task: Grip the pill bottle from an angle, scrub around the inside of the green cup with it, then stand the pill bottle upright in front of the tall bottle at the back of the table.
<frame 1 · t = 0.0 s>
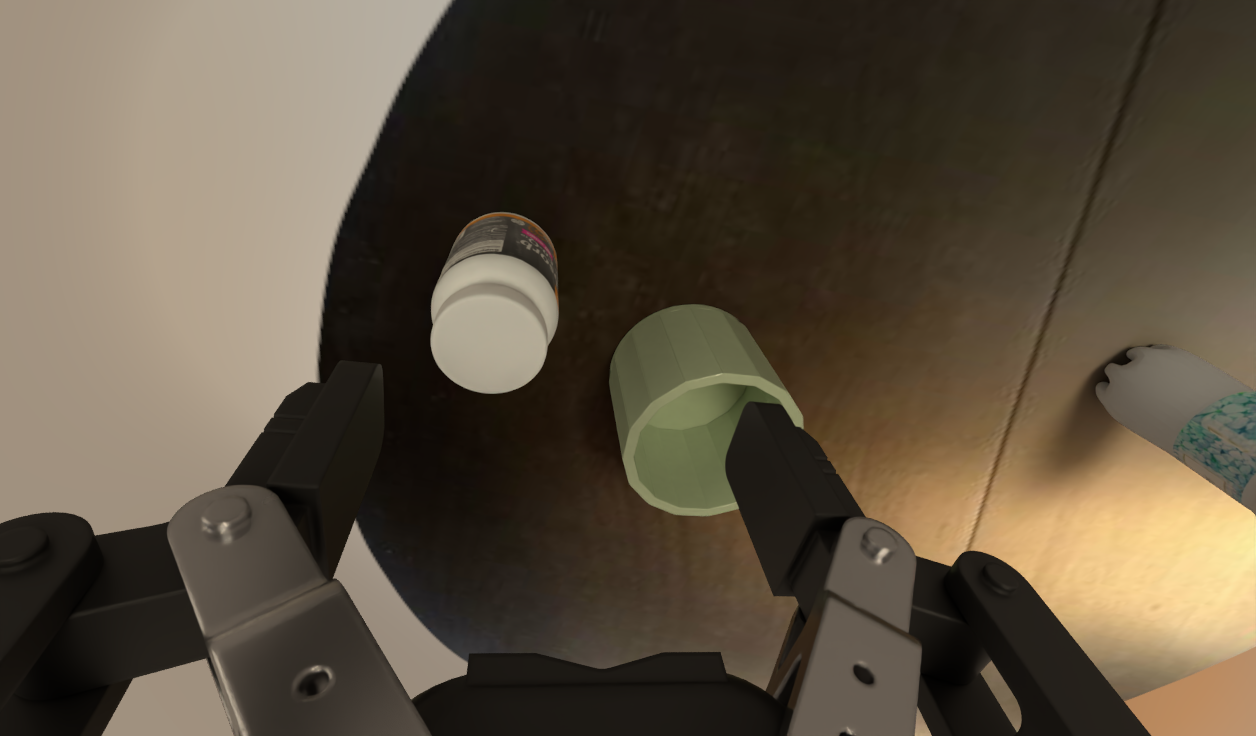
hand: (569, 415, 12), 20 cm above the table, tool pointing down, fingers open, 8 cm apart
bottle: (1125, 371, 42), on the table
pill bottle: (505, 258, 31), on the table
green cup: (683, 371, 36), on the table
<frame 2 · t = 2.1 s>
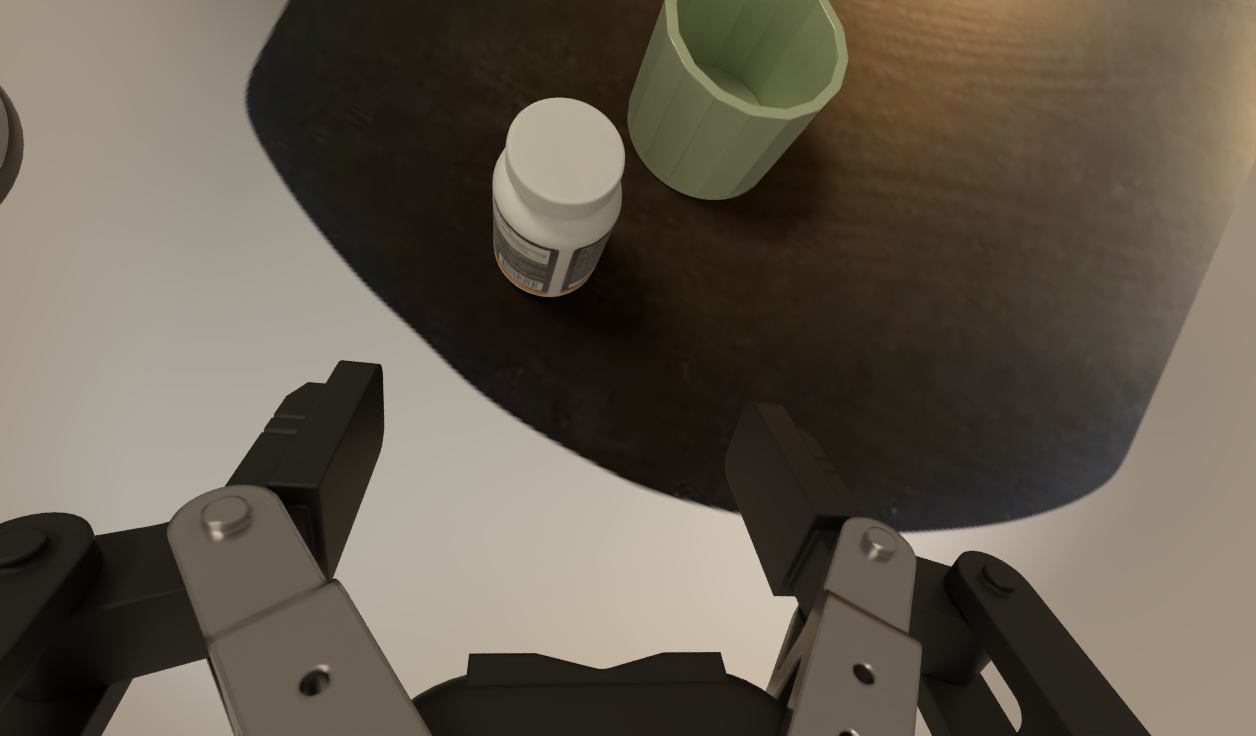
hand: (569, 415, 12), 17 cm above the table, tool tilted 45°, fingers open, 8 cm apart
pill bottle: (544, 253, 31), on the table
green cup: (702, 129, 35), on the table
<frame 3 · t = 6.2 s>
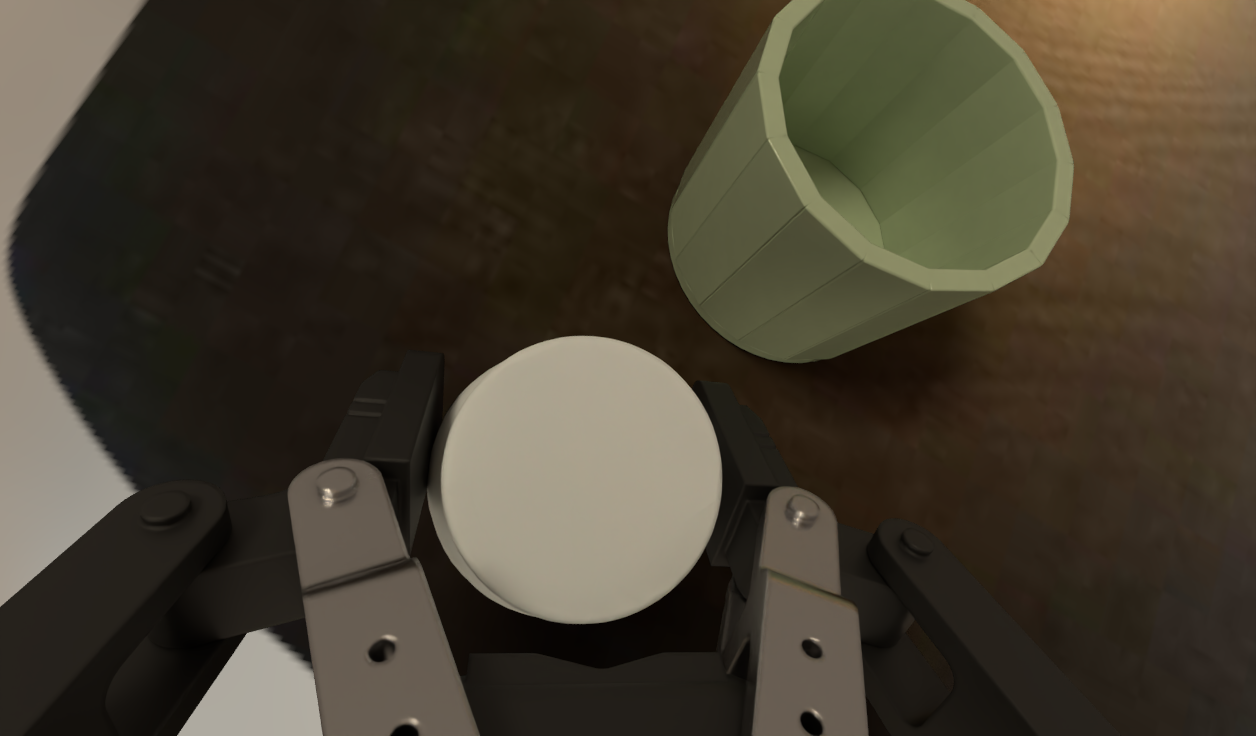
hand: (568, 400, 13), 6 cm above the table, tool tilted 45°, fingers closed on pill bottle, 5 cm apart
pill bottle: (540, 484, 19), on the table, touching gripper
green cup: (782, 246, 23), on the table
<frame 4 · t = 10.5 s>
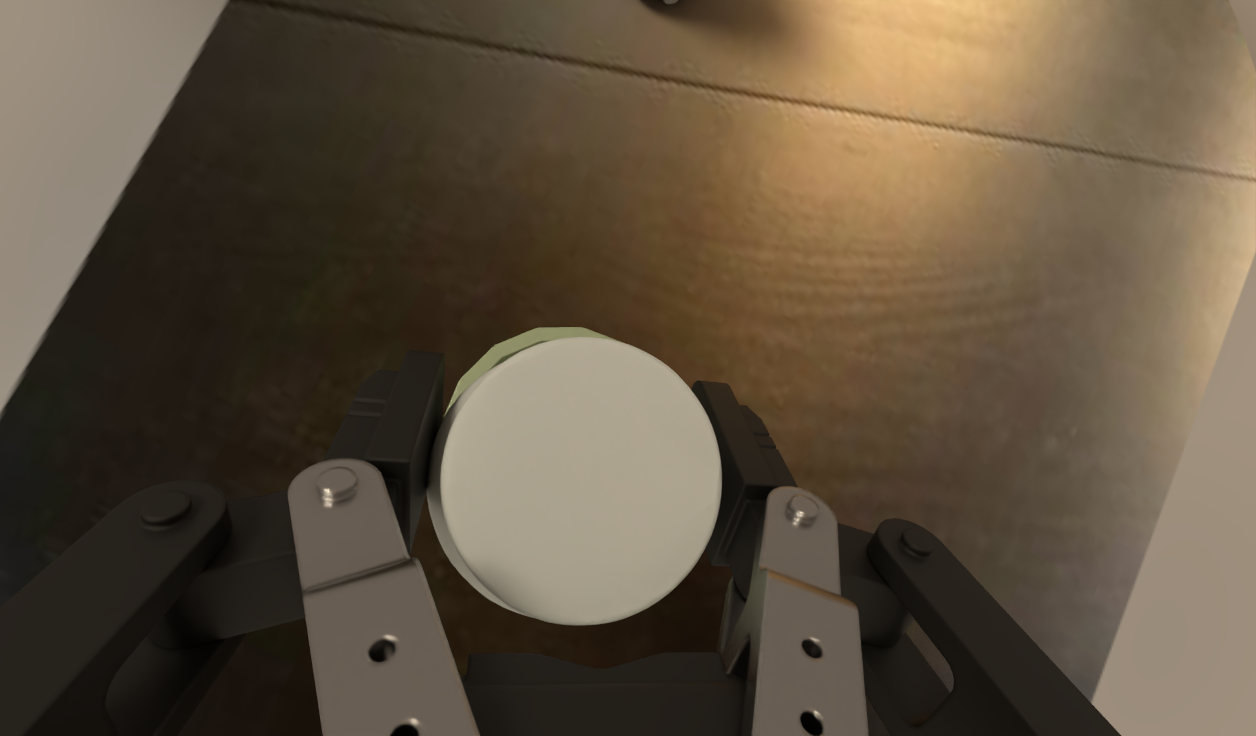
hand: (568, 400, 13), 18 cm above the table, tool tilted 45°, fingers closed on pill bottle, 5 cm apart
pill bottle: (540, 485, 19), point 12 cm above the table, touching gripper
green cup: (548, 455, 30), on the table
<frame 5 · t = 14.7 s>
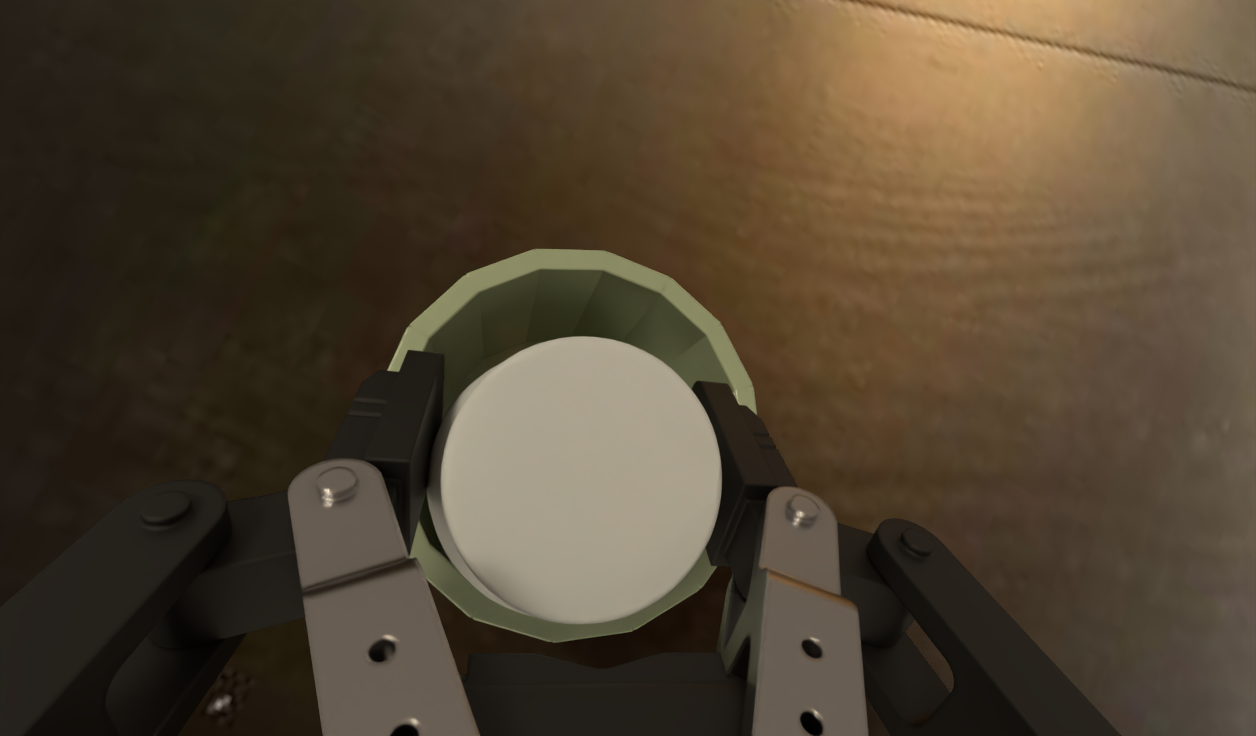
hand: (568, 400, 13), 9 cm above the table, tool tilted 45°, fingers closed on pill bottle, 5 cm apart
pill bottle: (540, 484, 19), point 3 cm above the table, touching gripper
green cup: (551, 452, 22), on the table
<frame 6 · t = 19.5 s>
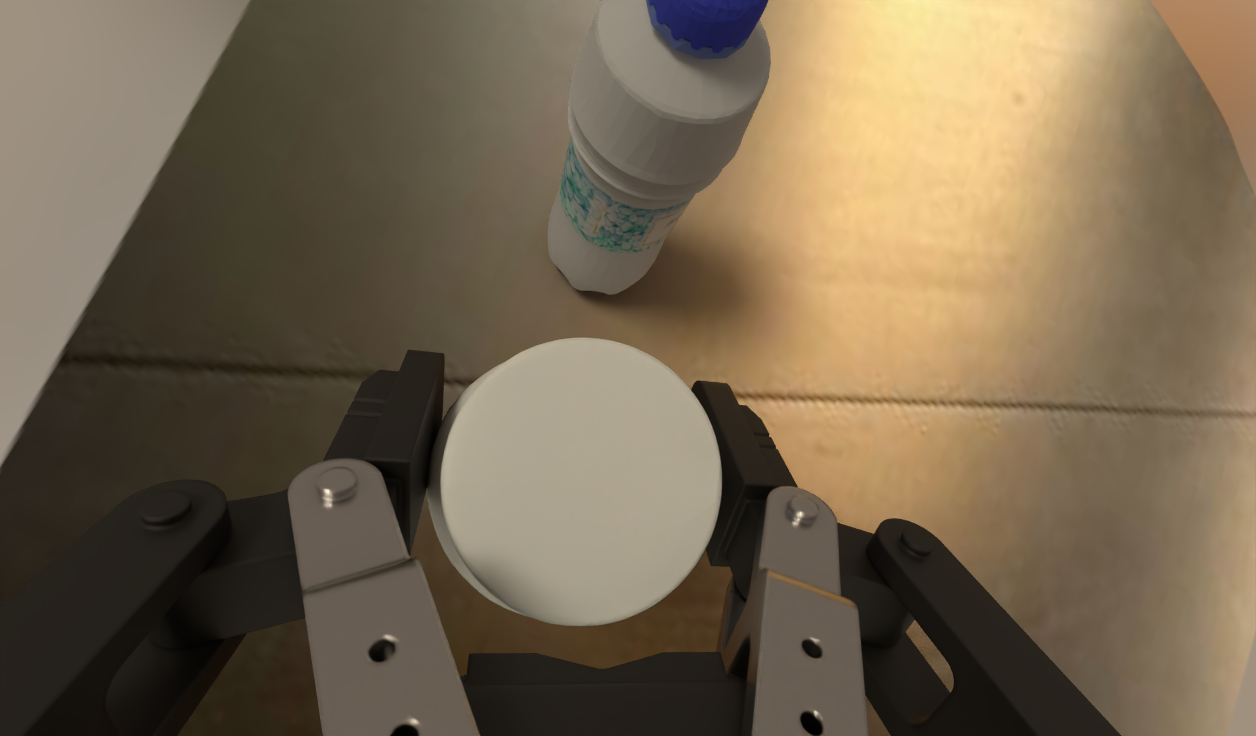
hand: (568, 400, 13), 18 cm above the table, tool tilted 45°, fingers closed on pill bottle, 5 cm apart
bottle: (595, 255, 34), on the table
pill bottle: (540, 484, 19), point 12 cm above the table, touching gripper
when the fingers open (6 cm above the table, at t = 23.4 s): pill bottle stays where it is, on the table.
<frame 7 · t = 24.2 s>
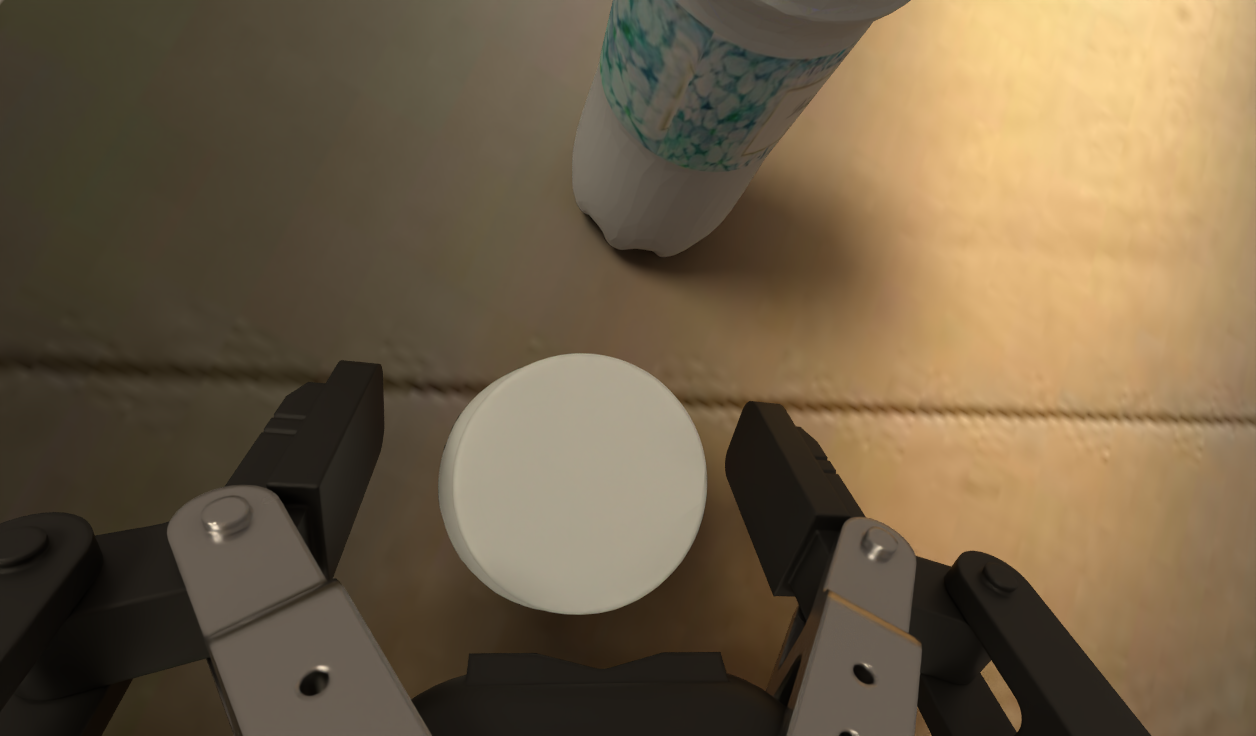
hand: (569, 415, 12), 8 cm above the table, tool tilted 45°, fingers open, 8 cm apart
bottle: (640, 201, 23), on the table
pill bottle: (544, 486, 20), on the table
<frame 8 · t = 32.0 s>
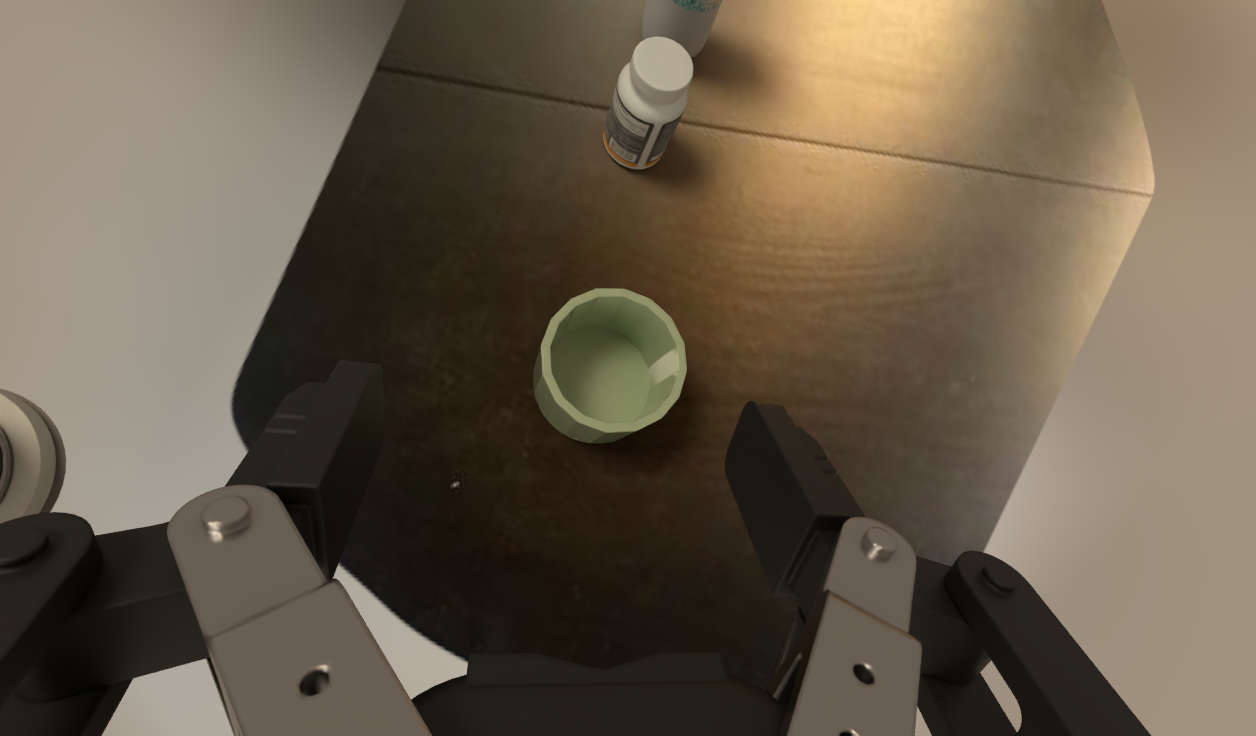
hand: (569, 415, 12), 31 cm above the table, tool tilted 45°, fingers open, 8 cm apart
bottle: (667, 45, 54), on the table
pill bottle: (632, 145, 50), on the table
green cup: (595, 381, 44), on the table
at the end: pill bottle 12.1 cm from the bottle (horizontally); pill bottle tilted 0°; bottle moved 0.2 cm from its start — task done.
